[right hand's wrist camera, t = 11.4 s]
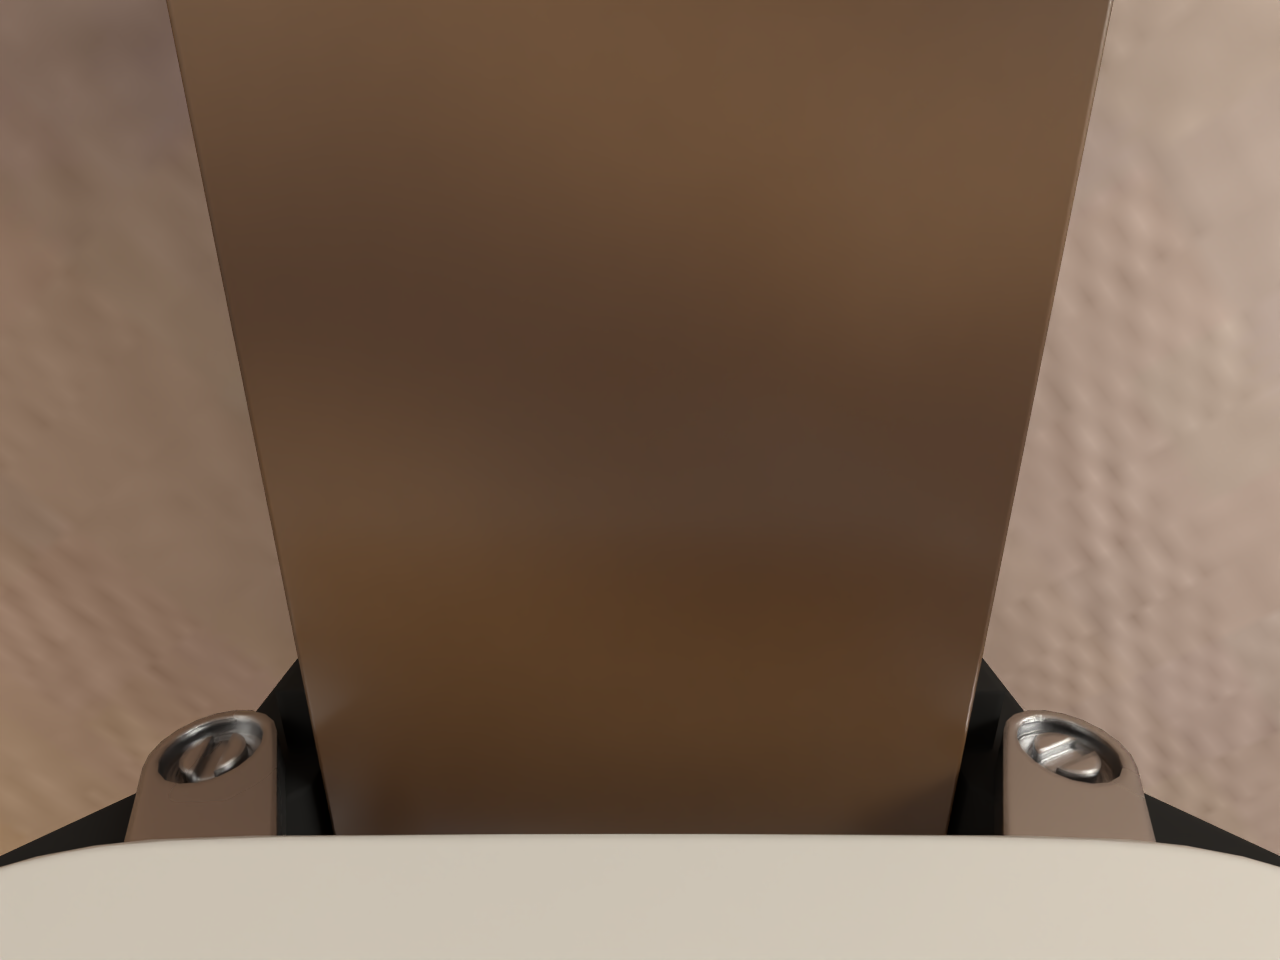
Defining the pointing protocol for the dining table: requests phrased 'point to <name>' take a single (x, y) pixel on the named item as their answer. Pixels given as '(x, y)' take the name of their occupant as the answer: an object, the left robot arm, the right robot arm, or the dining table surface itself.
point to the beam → (639, 387)
